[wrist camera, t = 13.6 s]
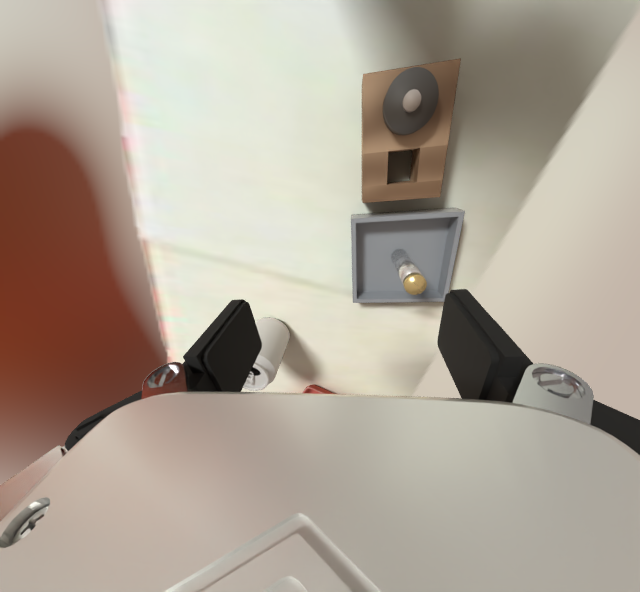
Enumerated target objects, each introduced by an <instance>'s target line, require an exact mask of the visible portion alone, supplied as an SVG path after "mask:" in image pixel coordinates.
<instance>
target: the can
mask: <svg viewBox="0 0 640 592" xmlns="http://www.w3.org/2000/svg"><path fill="white" fill-rule="evenodd" d="M255 323H256V326H257V329H258V332H259V335H260V339H261V342H262V348H261V351H260V353H259V355H258V357H257V359H256V361H255V363H254V365H253V367H252V369H251V371H250V373H249V375H248V377H247V380H246V382H245V384H244V386H243V388H245V389H248V390H255V391H257V390H262V389H264V388H265V387H266V386H267V385H268V384H269V383H271V382H272V381H273V380H274V378H275V376H276V374H277V371H278V368H279V366H280V363H281V360H282V358H283V355H284V352H285V350H286V347H287V344H288V342H289V338H290V333H289V330H288V328H287V327H286V325H284V324H283V323H282V322H281V321H279V320H277V319H274V318H270V317H268V318H261V319H259V320H258V321H256V322H255Z"/></svg>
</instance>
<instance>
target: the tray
mask: <svg viewBox="0 0 640 592" xmlns="http://www.w3.org/2000/svg"><path fill="white" fill-rule="evenodd" d="M464 213H465V211H463V210H460V209H458V208H444V209H430V210H415V211H400V212H386V213H371V214H357V215H351V235H352V282H353V303H372V302H444V300H445V295H446V294H447V293H448V292H449V287H450V282H451V277H452V272H453V267H454V262H455V257H456V252H457V248H458V243H459V238H460V233H461V228H462V223H463V218H464ZM397 249H404V250H405V251H406V252H407V253H408V255H409V256H410V258H411V259H412V261H413V262H414V264H415V265H416V267H417V268H418V269H419V271H420V272H421V274H422V275H423V277H424V278H425V280H426V282H427V287H426V289H425V290H424V291H423V292H422V293H420V294H417V295H412V294H409V293H407V292H406V290H405V288H404V286H403V283H402V281H401V279H400V277H399V275H398V273H397V270H396V268H395V266H394V264H393V262H392V259H391V255H392V253H393V252H394V251H395V250H397Z"/></svg>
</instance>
